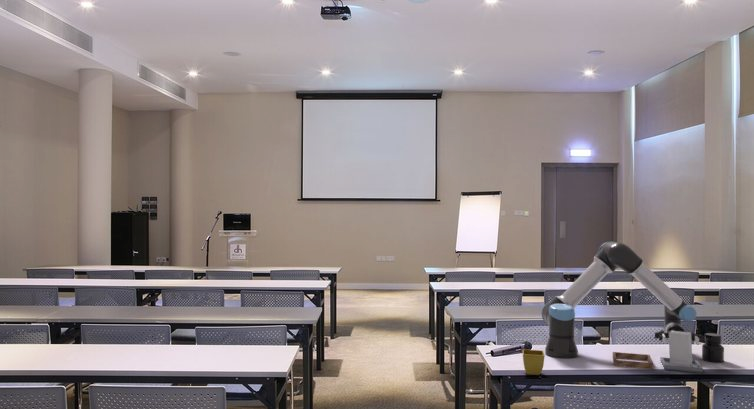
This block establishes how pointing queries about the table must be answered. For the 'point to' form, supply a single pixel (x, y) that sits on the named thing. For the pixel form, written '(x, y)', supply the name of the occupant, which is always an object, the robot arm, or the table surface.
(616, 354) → the wooden tray
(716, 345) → the ink bottle
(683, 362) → the skincare box
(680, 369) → the tray
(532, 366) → the flower pot
